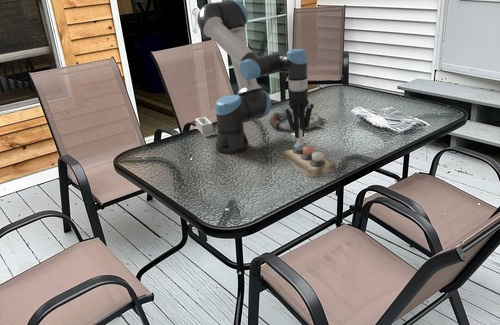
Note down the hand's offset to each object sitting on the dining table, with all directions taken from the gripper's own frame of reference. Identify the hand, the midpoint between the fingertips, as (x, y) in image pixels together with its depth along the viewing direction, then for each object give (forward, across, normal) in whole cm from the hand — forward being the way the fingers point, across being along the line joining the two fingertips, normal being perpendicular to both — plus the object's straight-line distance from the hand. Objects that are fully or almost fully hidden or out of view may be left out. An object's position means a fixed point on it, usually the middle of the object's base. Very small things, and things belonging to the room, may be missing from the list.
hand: (299, 144), depth 187 cm
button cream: (+1, 0, -15) cm, 15 cm away
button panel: (+6, 0, -7) cm, 10 cm away
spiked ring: (+6, +20, +40) cm, 45 cm away
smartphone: (+6, -26, +55) cm, 61 cm away
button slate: (+2, 0, 0) cm, 2 cm away
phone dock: (+6, -26, +55) cm, 61 cm away
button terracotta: (+1, 0, -7) cm, 7 cm away
